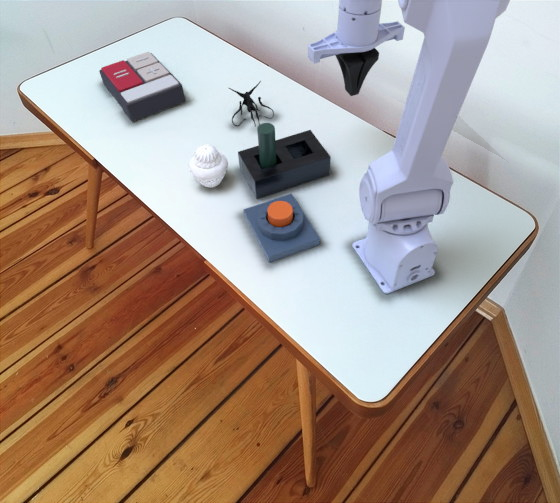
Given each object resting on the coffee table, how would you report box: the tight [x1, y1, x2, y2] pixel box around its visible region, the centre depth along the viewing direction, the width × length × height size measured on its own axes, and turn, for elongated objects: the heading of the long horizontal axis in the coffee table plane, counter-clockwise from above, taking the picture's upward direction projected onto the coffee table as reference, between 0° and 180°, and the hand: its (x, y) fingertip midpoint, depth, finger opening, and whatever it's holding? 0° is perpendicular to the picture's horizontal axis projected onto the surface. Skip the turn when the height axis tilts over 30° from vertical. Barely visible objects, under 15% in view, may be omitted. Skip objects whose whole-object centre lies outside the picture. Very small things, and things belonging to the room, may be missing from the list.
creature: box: [228, 80, 275, 127], centre depth 92 cm, size 8×5×8 cm
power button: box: [267, 201, 293, 227], centre depth 74 cm, size 4×4×2 cm
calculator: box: [98, 51, 186, 123], centre depth 98 cm, size 11×4×15 cm
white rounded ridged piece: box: [188, 144, 229, 189], centre depth 81 cm, size 6×6×7 cm
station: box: [242, 193, 321, 263], centre depth 76 cm, size 10×8×3 cm
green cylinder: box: [256, 122, 276, 169], centre depth 80 cm, size 3×3×10 cm
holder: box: [237, 129, 332, 200], centre depth 83 cm, size 7×13×4 cm, turn 113°
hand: (351, 91), depth 80 cm, fingers closed
